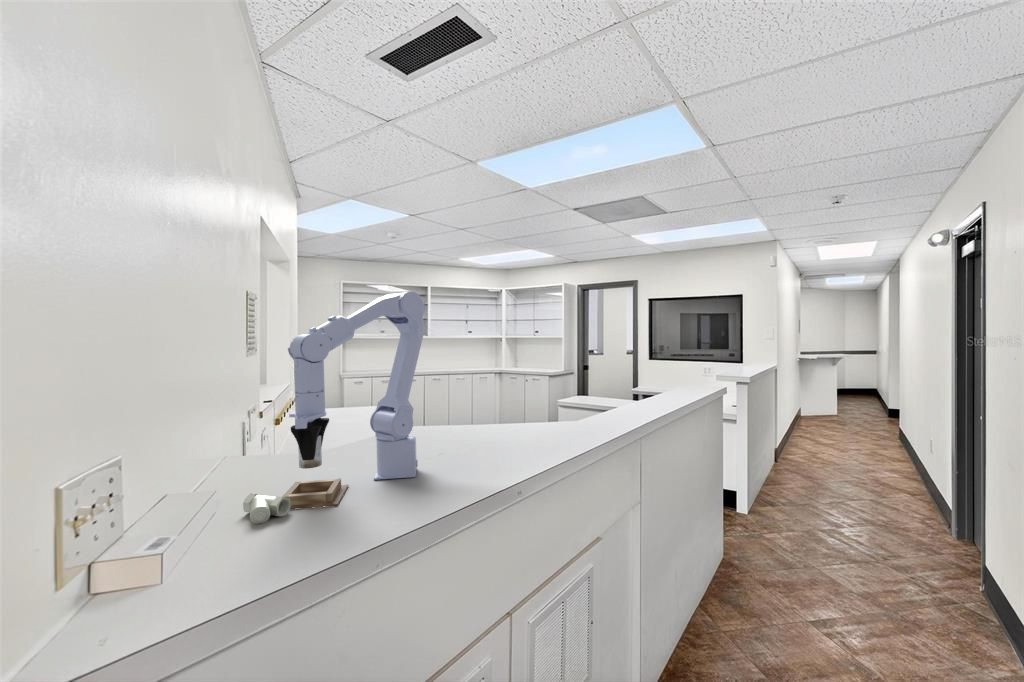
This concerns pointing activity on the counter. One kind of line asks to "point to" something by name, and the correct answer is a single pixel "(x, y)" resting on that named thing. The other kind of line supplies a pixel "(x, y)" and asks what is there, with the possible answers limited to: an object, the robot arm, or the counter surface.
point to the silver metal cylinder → (317, 459)
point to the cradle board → (316, 493)
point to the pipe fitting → (265, 507)
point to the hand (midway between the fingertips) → (311, 456)
